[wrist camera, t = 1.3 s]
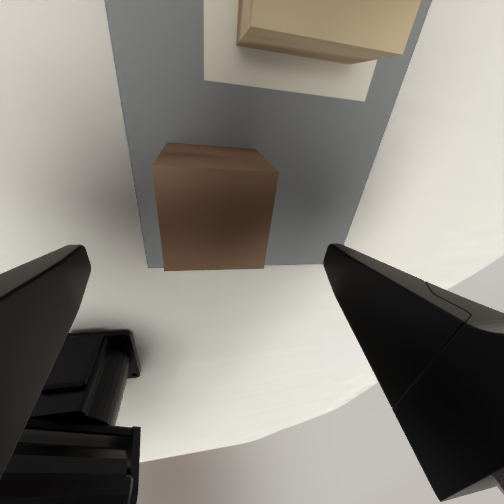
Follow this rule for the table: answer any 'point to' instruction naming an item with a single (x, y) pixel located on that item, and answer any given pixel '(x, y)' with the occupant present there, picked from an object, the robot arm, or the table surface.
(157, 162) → the walnut cube
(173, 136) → the mat
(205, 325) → the table surface
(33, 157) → the table surface
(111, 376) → the robot arm
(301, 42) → the oak base block
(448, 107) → the table surface
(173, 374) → the table surface
